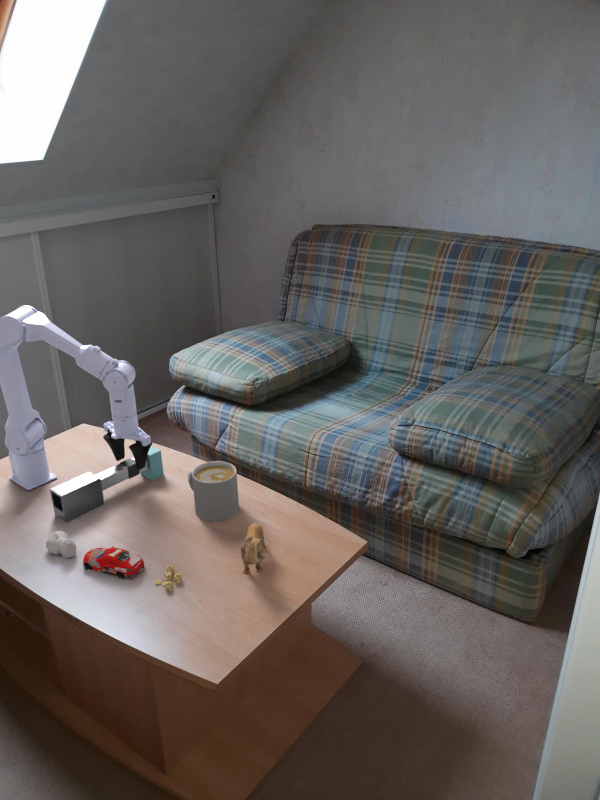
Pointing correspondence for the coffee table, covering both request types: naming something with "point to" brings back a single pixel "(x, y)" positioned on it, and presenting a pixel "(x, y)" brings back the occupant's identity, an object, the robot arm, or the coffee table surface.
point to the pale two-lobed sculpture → (61, 544)
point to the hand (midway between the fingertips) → (130, 463)
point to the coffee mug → (215, 490)
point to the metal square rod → (120, 473)
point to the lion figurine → (253, 548)
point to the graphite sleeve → (77, 496)
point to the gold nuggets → (168, 576)
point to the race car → (114, 562)
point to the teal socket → (154, 464)
